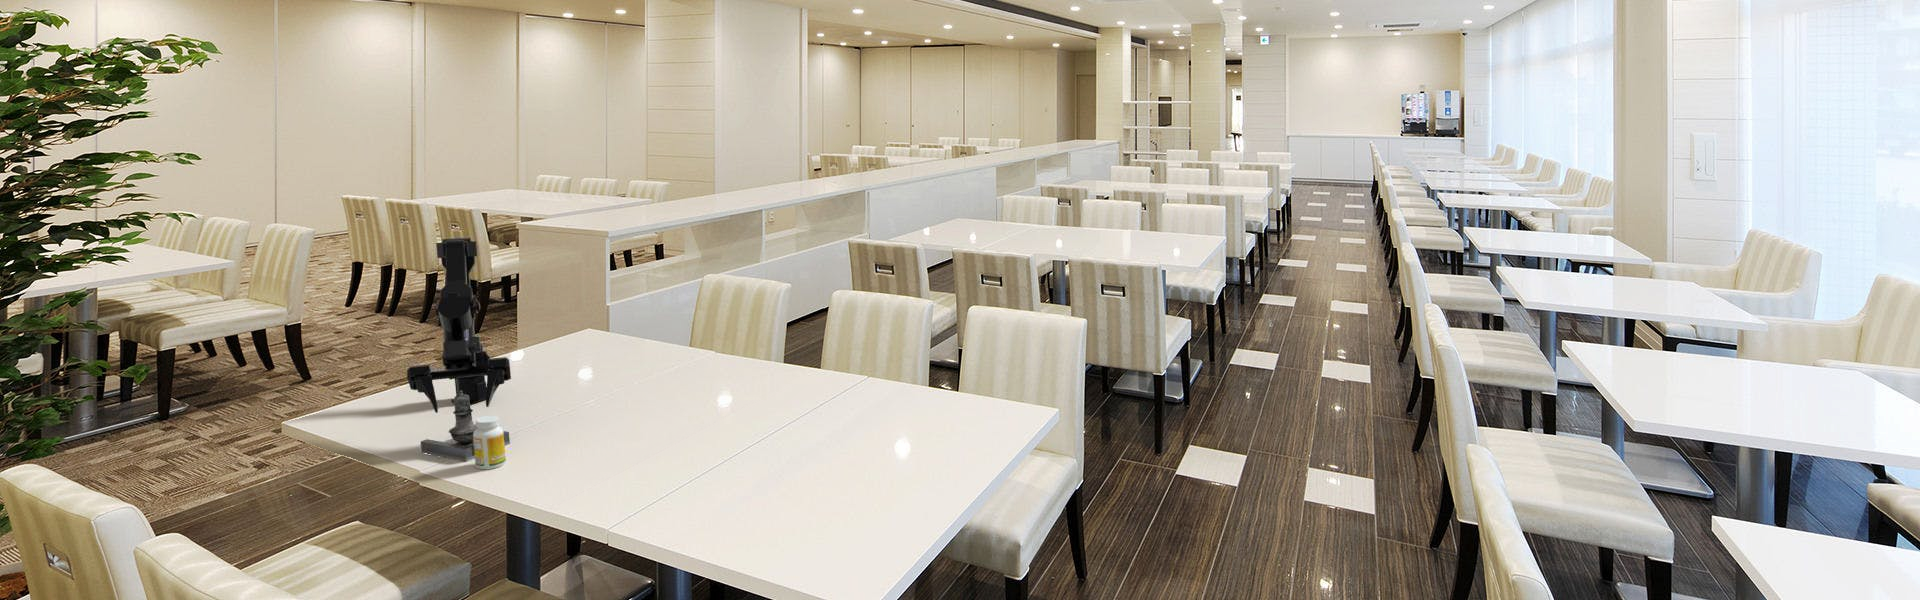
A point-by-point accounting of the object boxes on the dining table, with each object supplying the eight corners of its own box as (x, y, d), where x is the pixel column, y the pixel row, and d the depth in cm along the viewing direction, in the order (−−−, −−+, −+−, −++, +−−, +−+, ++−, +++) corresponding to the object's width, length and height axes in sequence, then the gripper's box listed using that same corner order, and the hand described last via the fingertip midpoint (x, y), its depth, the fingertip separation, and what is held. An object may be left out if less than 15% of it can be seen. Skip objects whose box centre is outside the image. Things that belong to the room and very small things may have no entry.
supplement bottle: (472, 470, 178) (467, 424, 176) (481, 460, 183) (476, 415, 181) (501, 469, 179) (497, 422, 177) (509, 459, 184) (505, 414, 182)
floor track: (421, 453, 187) (420, 441, 186) (466, 436, 197) (465, 424, 196) (466, 461, 183) (465, 449, 182) (509, 443, 193) (508, 431, 192)
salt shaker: (461, 452, 186) (455, 395, 183) (444, 447, 189) (438, 391, 186) (488, 443, 191) (483, 388, 188) (471, 438, 194) (465, 384, 191)
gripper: (402, 328, 184) (403, 395, 176) (505, 320, 192) (510, 384, 184) (410, 356, 192) (411, 422, 185) (508, 347, 200) (513, 410, 193)
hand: (462, 408), depth 187 cm, fingers open, 9 cm apart
